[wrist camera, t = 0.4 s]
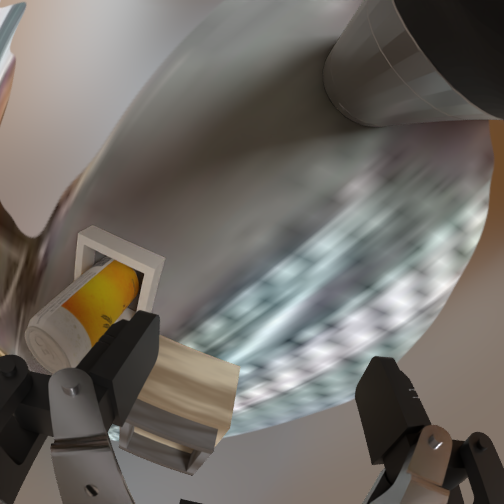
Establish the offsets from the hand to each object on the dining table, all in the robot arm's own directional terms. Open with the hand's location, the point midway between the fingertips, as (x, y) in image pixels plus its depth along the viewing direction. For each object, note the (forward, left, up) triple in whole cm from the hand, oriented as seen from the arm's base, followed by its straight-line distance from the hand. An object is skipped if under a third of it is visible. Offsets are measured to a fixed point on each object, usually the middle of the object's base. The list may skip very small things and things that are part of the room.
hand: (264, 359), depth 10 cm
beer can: (+13, -14, -19) cm, 27 cm away
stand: (+25, -2, -19) cm, 32 cm away
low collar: (+13, -14, -19) cm, 27 cm away
